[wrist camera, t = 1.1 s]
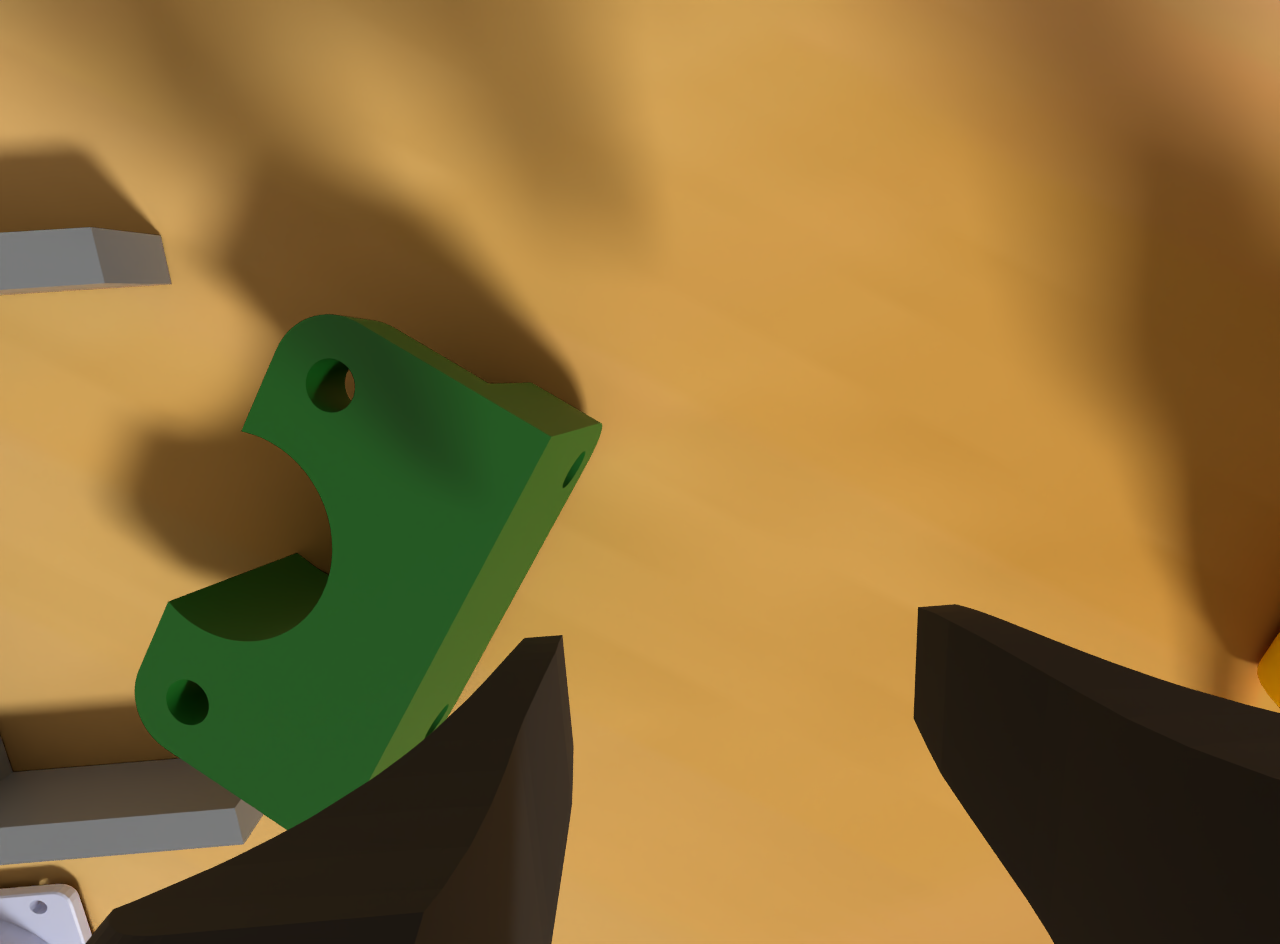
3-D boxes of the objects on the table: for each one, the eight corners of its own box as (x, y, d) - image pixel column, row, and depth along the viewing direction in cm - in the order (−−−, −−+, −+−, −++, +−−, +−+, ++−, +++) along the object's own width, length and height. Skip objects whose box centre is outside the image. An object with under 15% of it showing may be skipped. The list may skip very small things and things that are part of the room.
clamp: (451, 375, 24) (353, 223, 15) (604, 465, 23) (598, 364, 14) (226, 697, 21) (-56, 749, 12) (391, 806, 21) (223, 941, 12)
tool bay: (-16, 808, 22) (-94, 873, 19) (-211, 258, 18) (-341, 253, 15) (283, 783, 22) (243, 844, 20) (161, 235, 18) (90, 227, 16)
